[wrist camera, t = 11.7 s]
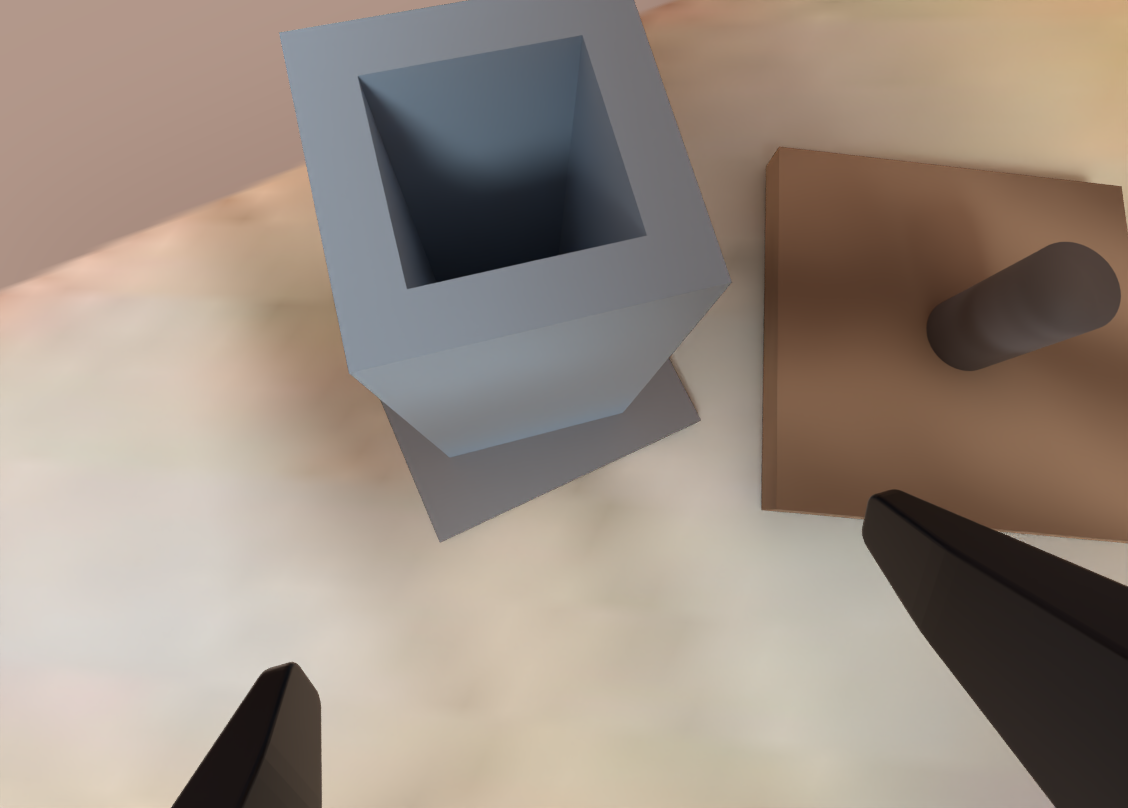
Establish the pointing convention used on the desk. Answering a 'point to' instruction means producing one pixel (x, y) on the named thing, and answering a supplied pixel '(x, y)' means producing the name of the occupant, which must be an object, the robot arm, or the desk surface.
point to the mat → (536, 457)
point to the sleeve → (502, 211)
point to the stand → (945, 343)
